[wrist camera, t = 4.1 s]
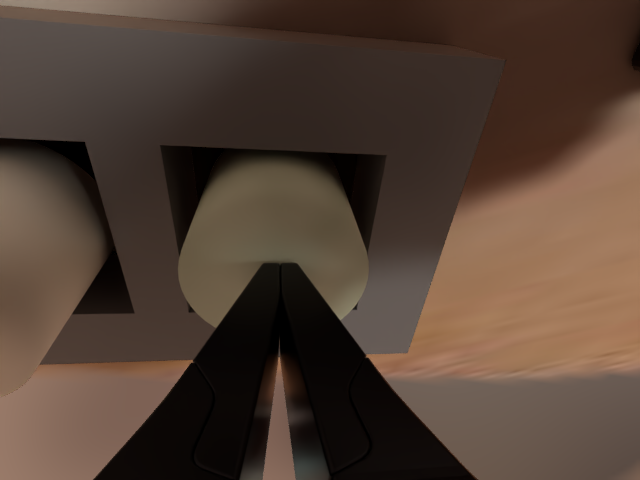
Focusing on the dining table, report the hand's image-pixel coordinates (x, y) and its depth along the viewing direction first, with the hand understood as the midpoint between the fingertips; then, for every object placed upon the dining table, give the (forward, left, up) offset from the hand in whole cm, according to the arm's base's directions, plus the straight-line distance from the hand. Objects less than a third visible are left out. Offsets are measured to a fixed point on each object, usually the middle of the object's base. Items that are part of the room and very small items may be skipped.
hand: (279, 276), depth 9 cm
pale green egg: (0, 0, -4) cm, 4 cm away
